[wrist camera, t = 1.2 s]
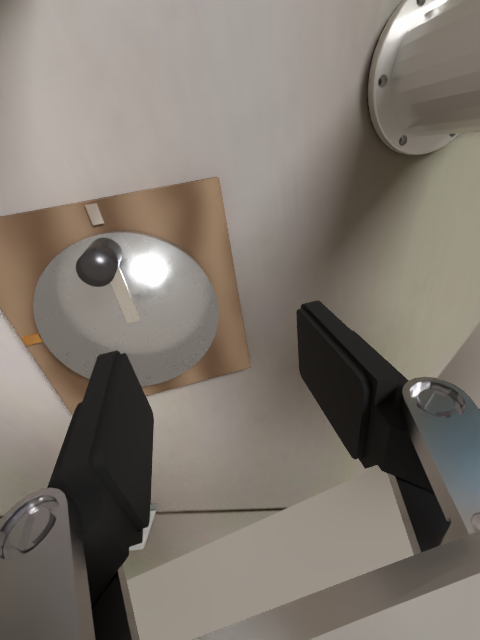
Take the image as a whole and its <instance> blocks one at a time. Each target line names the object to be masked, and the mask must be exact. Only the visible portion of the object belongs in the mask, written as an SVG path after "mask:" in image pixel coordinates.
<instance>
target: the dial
mask: <svg viewBox="0 0 480 640" xmlns="http://www.w3.org/2000/svg"><path fill="white" fill-rule="evenodd" d="M33 313H34V318H35V323H36V326H37V329H38V332H39V334H40V336H41V338H42V340H43V342H44V343H45V345H46V346H47V347H48V349H49V350H50V351H51V352H52V353H53V355H54V356H55V357H56V358H57V359H58V360H59V361H61V362H62V363H63V364H64V365H66V366H67V367H68V368H70V369H71V370H73V371H74V372H76V373H78V374H80V375H82V376H84V377H86V378H88V379H90V377H91V374H92V371H93V368H94V365H95V362H96V359H97V357H98V355H100V354H104V353H108V352H112V351H116V350H117V351H119V352H120V354H123V353H126V354H127V356H128V358H129V360H130V363H131V365H132V367H133V369H134V372H135V374H136V376H137V378H138V380H139V383H140V385H141V386H149V385H154V384H159V383H162V382H165V381H168V380H170V379H173V378H175V377H177V376H179V375H181V374H183V373H184V372H186V371H187V370H189V369H190V368H191V367H193V366H194V365H195V364H196V363H197V362H198V361H199V360H200V359H201V358H202V357H203V356H204V355H205V353H206V352H207V350H208V349H209V347H210V346H211V344H212V342H213V339H214V337H215V334H216V331H217V326H218V319H219V310H218V303H217V298H216V295H215V292H214V289H213V286H212V284H211V282H210V280H209V278H208V276H207V274H206V273H205V271H204V270H203V268H202V267H201V266H200V265H199V264H198V262H197V261H196V260H195V259H194V258H193V257H192V256H190V255H189V254H188V253H187V252H186V251H184V250H183V249H181V248H180V247H179V246H177V245H175V244H173V243H171V242H169V241H168V240H165V239H163V238H160V237H158V236H155V235H151V234H147V233H143V232H136V231H108V232H101V233H98V234H94V235H90V236H87V237H85V238H83V239H80V240H78V241H76V242H75V243H73V244H71V245H70V246H68V247H67V248H65V249H64V250H63V251H62V252H61V253H59V254H58V255H57V256H56V257H55V258H54V259H53V260H52V261H51V262H50V263H49V265H48V266H47V267H46V268H45V270H44V271H43V273H42V275H41V276H40V278H39V281H38V283H37V286H36V289H35V294H34V299H33Z"/></svg>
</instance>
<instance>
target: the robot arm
mask: <svg viewBox="0 0 480 640" xmlns="http://www.w3.org/2000/svg"><path fill="white" fill-rule="evenodd" d="M368 106H369V111H370V116H371V120H372V123H373V126H374V128H375V131H376V133H377V134H378V136H379V137H380V139H381V140H382V142H383V143H385V144H386V145H387V146H388V147H389V148H390V149H392V150H394V151H396V152H398V153H401V154H407V155H421V154H426V153H430V152H433V151H435V150H438V149H440V148H442V147H443V146H445V145H446V144H448V143H449V142H451V141H452V140H453V139H454V138H456V137H457V136H458V135H459V134H460V133H467V132H479V131H480V0H402V1H401V2H400V4H399V5H398V7H397V8H396V10H395V11H394V12H393V14H392V15H391V17H390V18H389V20H388V22H387V24H386V26H385V28H384V30H383V32H382V33H381V35H380V38H379V41H378V44H377V46H376V49H375V52H374V55H373V59H372V64H371V68H370V73H369V83H368ZM297 333H298V353H299V370H300V374H301V377H302V379H303V380H304V382H305V383H306V385H307V387H308V388H309V390H310V391H311V393H312V395H313V396H314V398H315V399H316V401H317V403H318V404H319V406H320V407H321V409H322V411H323V412H324V414H325V415H326V417H327V419H328V420H329V422H330V423H331V425H332V427H333V428H334V430H335V431H336V433H337V435H338V436H339V438H340V439H341V441H342V442H343V444H344V446H345V447H346V449H347V450H348V452H349V454H350V455H351V457H352V458H353V459H357V458H359V460H360V461H361V463H362V465H363V466H364V468H365V469H366V468H369V467H372V466H374V465H378V466H379V467H380V469H381V470H382V471H384V472H386V473H388V476H389V479H390V483H391V486H392V489H393V492H394V495H395V498H396V501H397V504H398V507H399V510H400V513H401V517H402V520H403V523H404V526H405V529H406V532H407V535H408V538H409V541H410V544H411V547H412V550H413V553H414V556H411V557H408V558H406V559H403V560H401V561H398V562H395V563H393V564H390V565H387V566H384V567H382V568H379V569H376V570H374V571H371V572H368V573H366V574H363V575H361V576H358V577H355V578H353V579H350V580H347V581H345V582H342V583H340V584H337V585H334V586H332V587H329V588H326V589H324V590H321V591H318V592H316V593H314V594H311V595H308V596H305V597H303V598H300V599H297V600H295V601H292V602H290V603H287V604H284V605H282V606H279V607H277V608H274V609H272V610H269V611H266V612H263V613H261V614H258V615H256V616H253V617H250V618H248V619H245V620H242V621H240V622H237V623H235V624H232V625H229V626H227V627H224V628H221V629H219V630H216V631H214V632H211V633H209V634H206V635H203V636H201V637H198V638H196V639H193V640H480V409H478V407H477V406H476V405H475V403H474V402H473V401H472V399H471V398H470V397H469V396H468V395H467V394H466V393H465V392H464V391H463V390H462V389H460V388H459V387H457V386H456V385H454V384H452V383H449V382H447V381H445V380H441V379H437V378H431V377H420V378H414V379H412V380H410V381H408V380H407V379H406V378H405V377H404V376H403V375H402V374H401V373H400V372H399V371H397V370H396V369H395V368H394V367H393V366H392V365H391V364H390V363H389V362H388V361H386V360H385V359H384V358H383V357H382V356H381V355H380V354H379V353H378V352H377V351H376V350H374V349H373V348H372V347H371V346H370V345H369V344H368V343H367V342H366V341H365V340H363V339H362V338H361V337H360V336H359V335H358V334H357V333H355V332H354V331H351V330H350V329H349V328H348V327H347V326H346V325H345V324H344V323H343V322H342V321H341V320H340V319H338V318H337V317H336V316H335V315H334V314H333V313H332V312H331V311H330V310H329V309H328V308H326V307H325V306H324V305H323V304H322V303H321V302H320V301H313V302H309V303H305V304H302V305H301V309H298V310H297ZM153 425H154V418H153V412H152V409H151V407H150V405H149V403H148V400H147V398H146V396H145V394H144V392H143V389H142V387H141V385H140V383H139V380H138V378H137V376H136V374H135V372H134V369H133V367H132V365H131V363H130V360H129V358H128V356H127V354H126V353H123V354H120V352H119V351H117V350H116V351H112V352H108V353H104V354H100V355H98V357H97V359H96V362H95V365H94V368H93V371H92V374H91V377H90V380H89V383H88V386H87V389H86V392H85V395H84V398H83V401H82V402H80V403H79V404H78V405H77V407H76V408H75V411H74V414H73V417H72V420H71V422H70V425H69V428H68V431H67V434H66V437H65V439H64V442H63V445H62V448H61V451H60V454H59V456H58V459H57V462H56V465H55V468H54V471H53V473H52V476H51V479H50V482H49V485H48V487H47V488H46V489H41V490H38V491H36V492H34V493H32V494H29V495H28V496H26V497H25V498H23V499H22V500H20V501H19V502H18V503H16V504H15V505H14V506H13V507H12V508H11V509H10V510H9V511H8V512H7V513H6V514H5V515H4V516H3V518H2V519H1V520H0V640H140V639H139V635H138V630H137V626H136V621H135V617H134V612H133V608H132V603H131V599H130V594H129V590H128V585H127V581H126V576H125V572H124V567H123V563H124V561H125V560H126V559H127V557H128V555H129V547H131V546H134V545H137V544H140V543H142V540H143V528H146V527H148V526H149V522H150V501H151V476H152V450H153Z"/></svg>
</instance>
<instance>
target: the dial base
mask: <svg viewBox="0 0 480 640" xmlns="http://www.w3.org/2000/svg"><path fill="white" fill-rule="evenodd" d="M108 231H136V232H143V233H147V234H151V235H155V236H158V237H160V238H163V239H165V240H168V241H169V242H171V243H173V244H175V245H177V246H179V247H180V248H181V249H183V250H184V251H186V252H187V253H188V254H189V255H190V256H192V257H193V258H194V259H195V260H196V261H197V262H198V264H199V265H200V266H201V267H202V268H203V270H204V271H205V273H206V274H207V276H208V278H209V280H210V282H211V284H212V286H213V289H214V292H215V295H216V298H217V303H218V310H219V319H218V326H217V331H216V334H215V337H214V339H213V342H212V344H211V346H210V347H209V349H208V350H207V352H206V353H205V355H204V356H203V357H202V358H201V359H200V360H199V361H198V362H197V363H196V364H195V365H194V366H193V367H191V368H190V369H189V370H187V371H186V372H184V373H183V374H181V375H179V376H177V377H175V378H173V379H170V380H168V381H165V382H162V383H159V384H154V385H149V386H141V387H142V389H143V392H144V394H145V396H147V395H150V394H154V393H158V392H162V391H165V390H169V389H173V388H176V387H180V386H184V385H187V384H191V383H195V382H198V381H202V380H206V379H209V378H213V377H217V376H221V375H224V374H228V373H232V372H235V371H239V370H243V369H246V368H250V367H251V366H250V360H249V354H248V348H247V342H246V336H245V330H244V324H243V318H242V312H241V306H240V300H239V294H238V288H237V282H236V276H235V270H234V264H233V258H232V252H231V246H230V240H229V234H228V228H227V222H226V216H225V210H224V204H223V198H222V192H221V186H220V180H219V178H218V177H213V178H207V179H202V180H196V181H191V182H186V183H180V184H175V185H169V186H164V187H159V188H153V189H148V190H142V191H137V192H132V193H126V194H121V195H115V196H110V197H104V198H99V199H94V200H88V201H83V202H77V203H72V204H67V205H61V206H56V207H50V208H45V209H40V210H34V211H29V212H23V213H18V214H13V215H7V216H2V217H0V308H1V310H2V311H3V313H4V314H5V316H6V317H7V319H8V320H9V322H10V323H11V325H12V326H13V328H14V329H15V331H16V332H17V333H18V335H19V336H20V338H21V339H22V341H23V342H24V344H25V345H26V347H27V348H28V350H29V351H30V353H31V354H32V356H33V357H34V359H35V360H36V362H37V363H38V365H39V366H40V368H41V369H42V371H43V372H44V374H45V375H46V377H47V378H48V380H49V381H50V382H51V384H52V385H53V387H54V388H55V390H56V391H57V393H58V394H59V396H60V397H61V399H62V400H63V402H64V403H65V405H66V406H67V408H68V409H69V411H70V412H71V414H72V415H73V414H74V411H75V408H76V407H77V405H78V404H79V403H80V402H82V401H83V398H84V395H85V392H86V389H87V386H88V383H89V380H90V379H88V378H86V377H84V376H82V375H80V374H78V373H76V372H74V371H73V370H71V369H70V368H68V367H67V366H66V365H64V364H63V363H62V362H61V361H59V360H58V359H57V358H56V357H55V356H54V355H53V353H52V352H51V351H50V350H49V349H48V347H47V346H46V345H45V343H44V342H43V340H42V338H41V336H40V334H39V332H38V329H37V326H36V323H35V318H34V313H33V299H34V294H35V289H36V286H37V283H38V281H39V278H40V276H41V275H42V273H43V271H44V270H45V268H46V267H47V266H48V265H49V263H50V262H51V261H52V260H53V259H54V258H55V257H56V256H57V255H58V254H59V253H61V252H62V251H63V250H64V249H65V248H67V247H68V246H70V245H71V244H73V243H75V242H76V241H78V240H80V239H83V238H85V237H87V236H90V235H94V234H98V233H101V232H108Z"/></svg>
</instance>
